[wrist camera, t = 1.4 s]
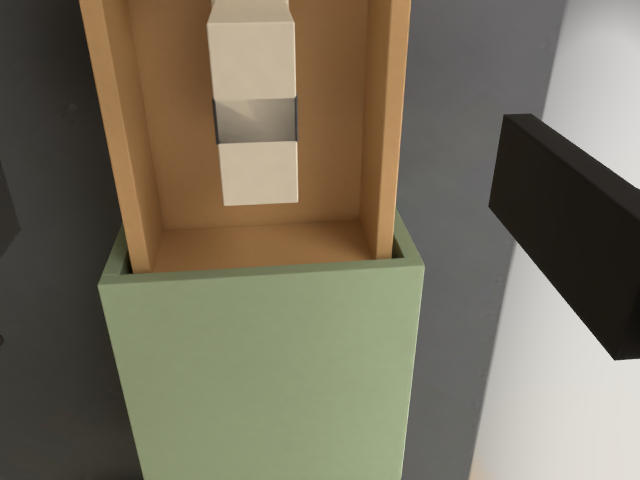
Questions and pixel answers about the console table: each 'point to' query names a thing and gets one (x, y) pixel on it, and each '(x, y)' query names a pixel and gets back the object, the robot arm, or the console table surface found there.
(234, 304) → the cabinet
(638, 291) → the robot arm
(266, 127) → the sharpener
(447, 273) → the console table surface
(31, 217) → the console table surface
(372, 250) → the drawer
